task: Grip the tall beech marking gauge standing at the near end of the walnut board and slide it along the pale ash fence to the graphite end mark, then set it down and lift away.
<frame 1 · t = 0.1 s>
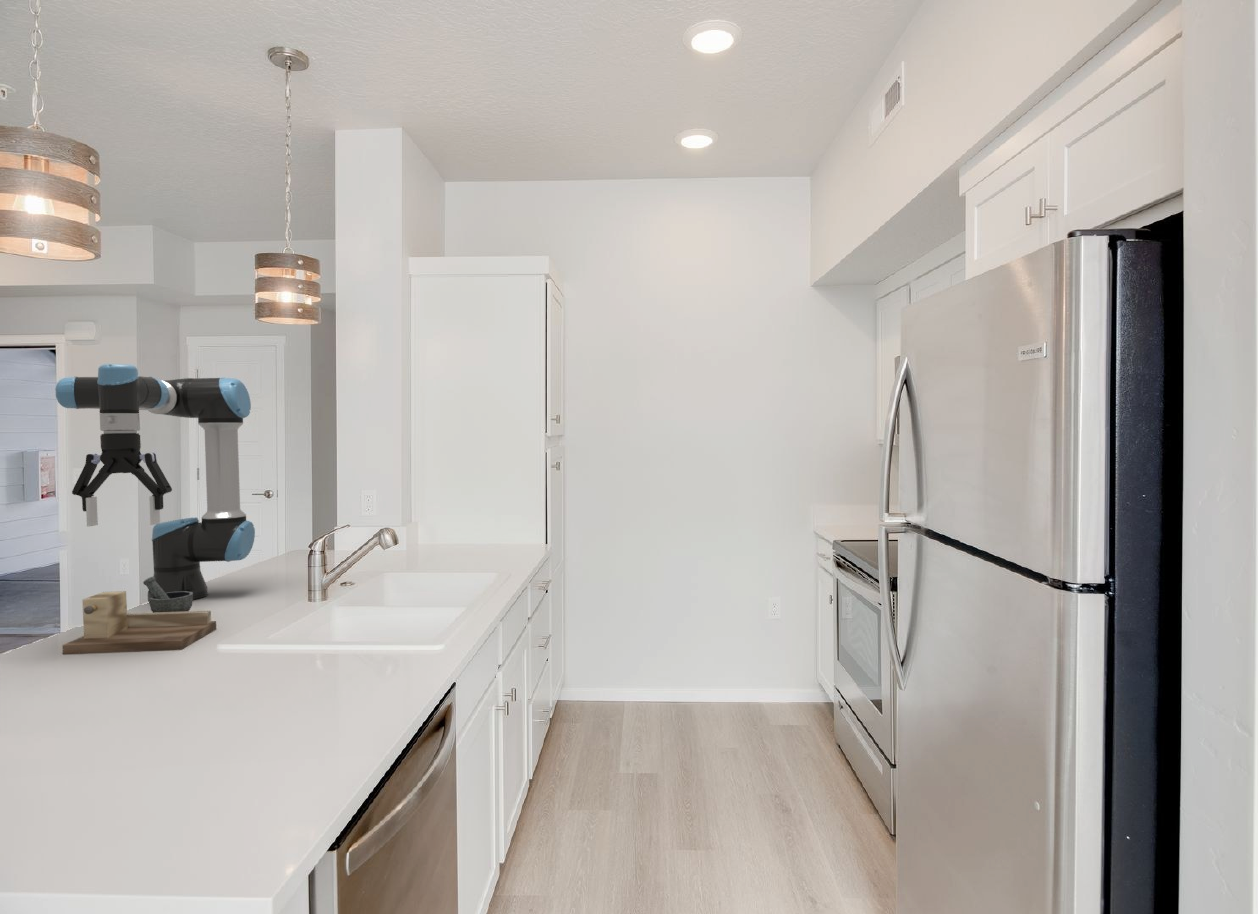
hand: (124, 525, 169), 28 cm above the worktop, tool pointing down, fingers open, 13 cm apart
walnut board: (143, 640, 173), on the worktop
mortar and pestle: (169, 622, 190), on the worktop
marking gauge: (106, 633, 172), point 2 cm above the worktop, touching walnut board
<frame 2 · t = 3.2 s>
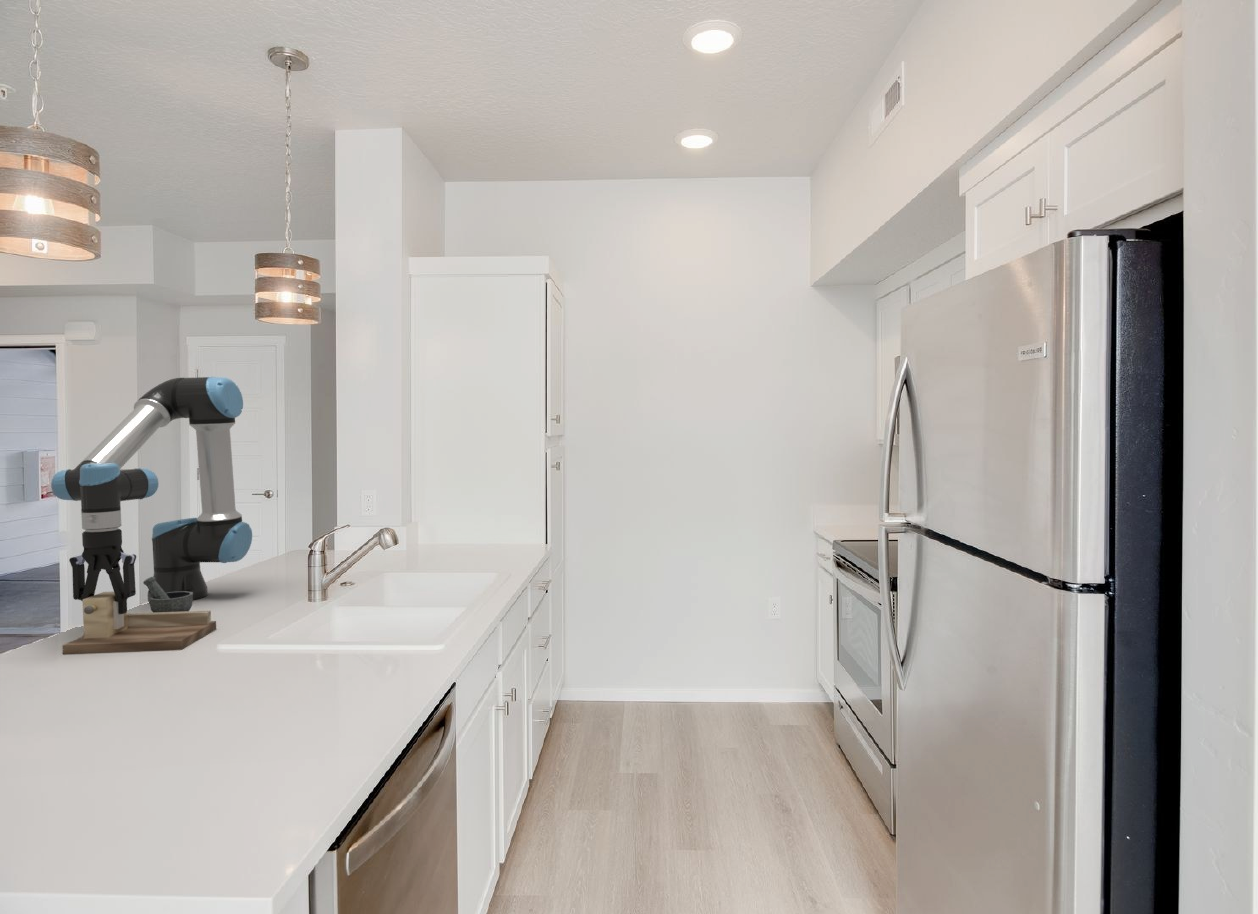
hand: (106, 628, 172), 3 cm above the worktop, tool pointing down, fingers closed on marking gauge, 5 cm apart
marking gauge: (106, 633, 172), point 2 cm above the worktop, touching gripper, walnut board
everything else where it was.
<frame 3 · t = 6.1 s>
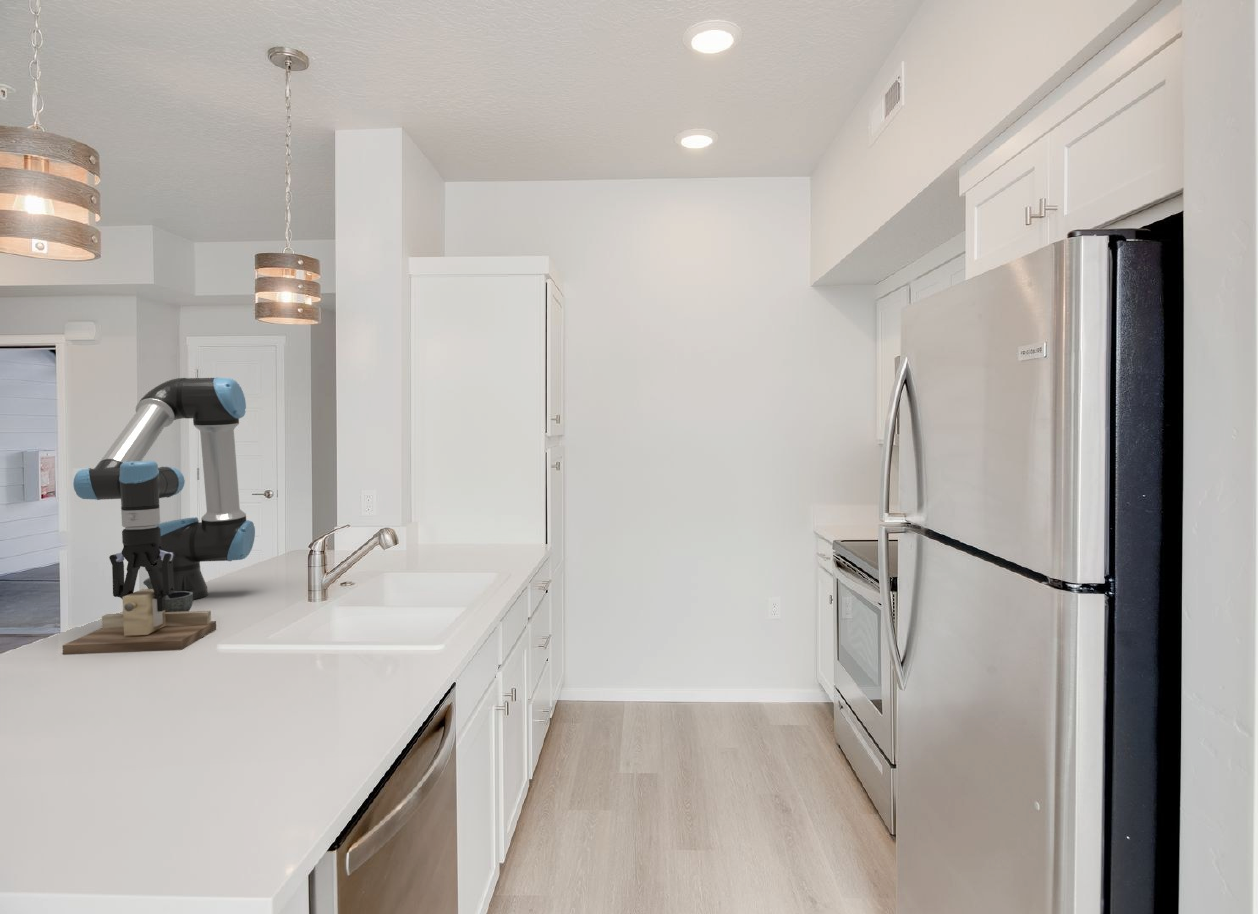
hand: (145, 625, 173), 4 cm above the worktop, tool pointing down, fingers closed on marking gauge, 5 cm apart
marking gauge: (145, 630, 173), point 2 cm above the worktop, touching gripper
everything else where it was.
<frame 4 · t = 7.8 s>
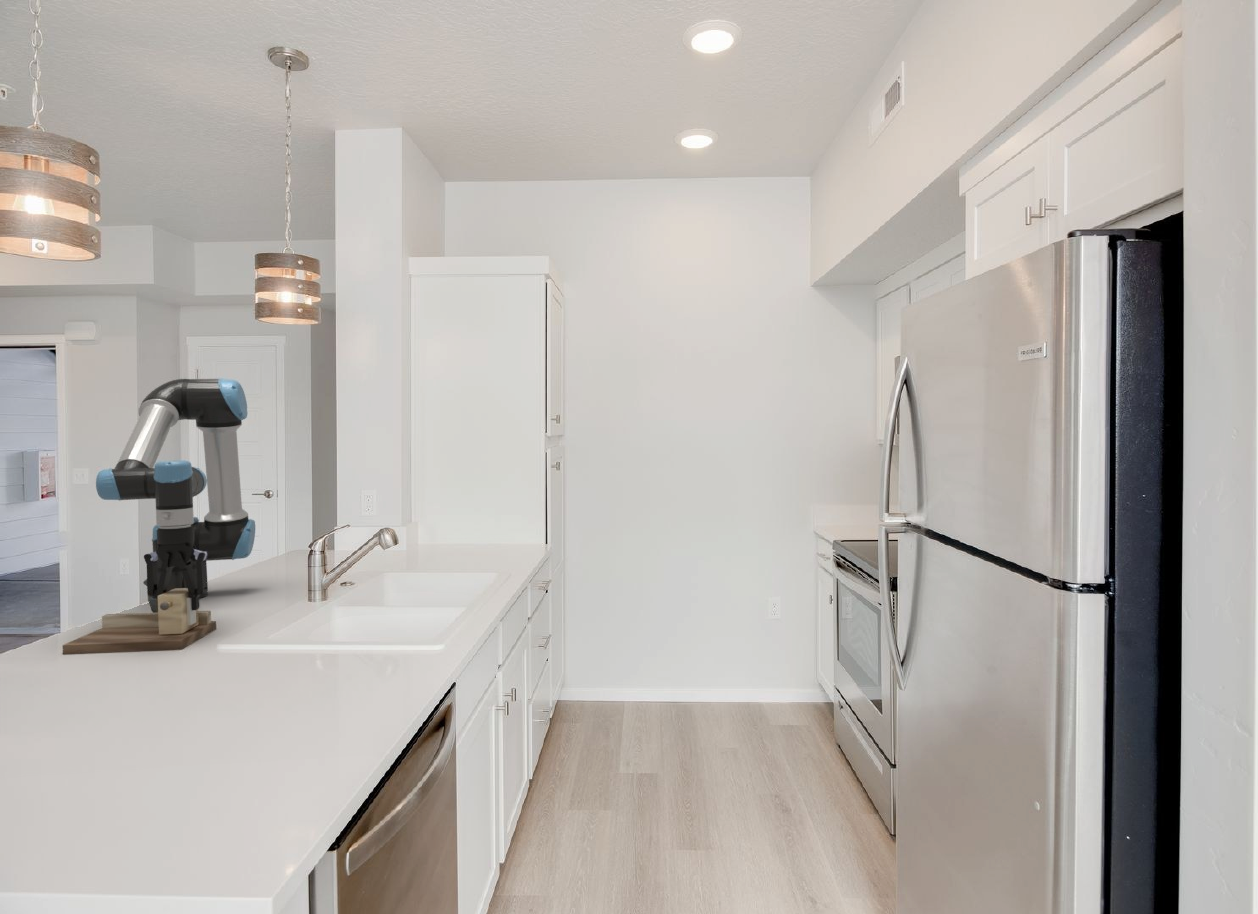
hand: (179, 624, 174), 4 cm above the worktop, tool pointing down, fingers closed on marking gauge, 5 cm apart
marking gauge: (179, 629, 174), point 2 cm above the worktop, touching gripper
everything else where it was.
when the fingers open (3 cm above the worktop, at t = 8.9 s): marking gauge stays where it is, resting on walnut board.
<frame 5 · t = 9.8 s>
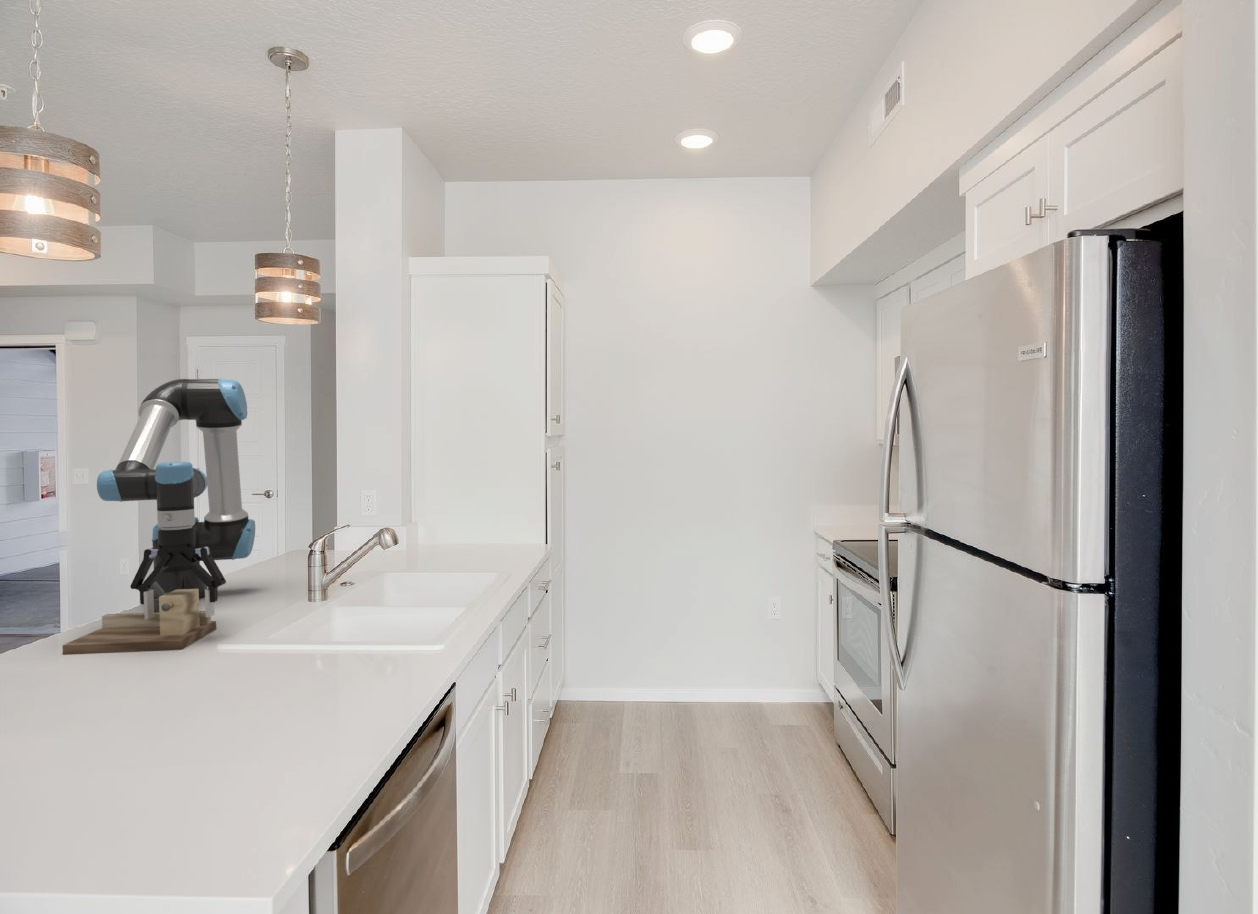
hand: (180, 617, 174), 5 cm above the worktop, tool pointing down, fingers open, 13 cm apart
marking gauge: (180, 630, 174), point 2 cm above the worktop, touching walnut board
everything else where it was.
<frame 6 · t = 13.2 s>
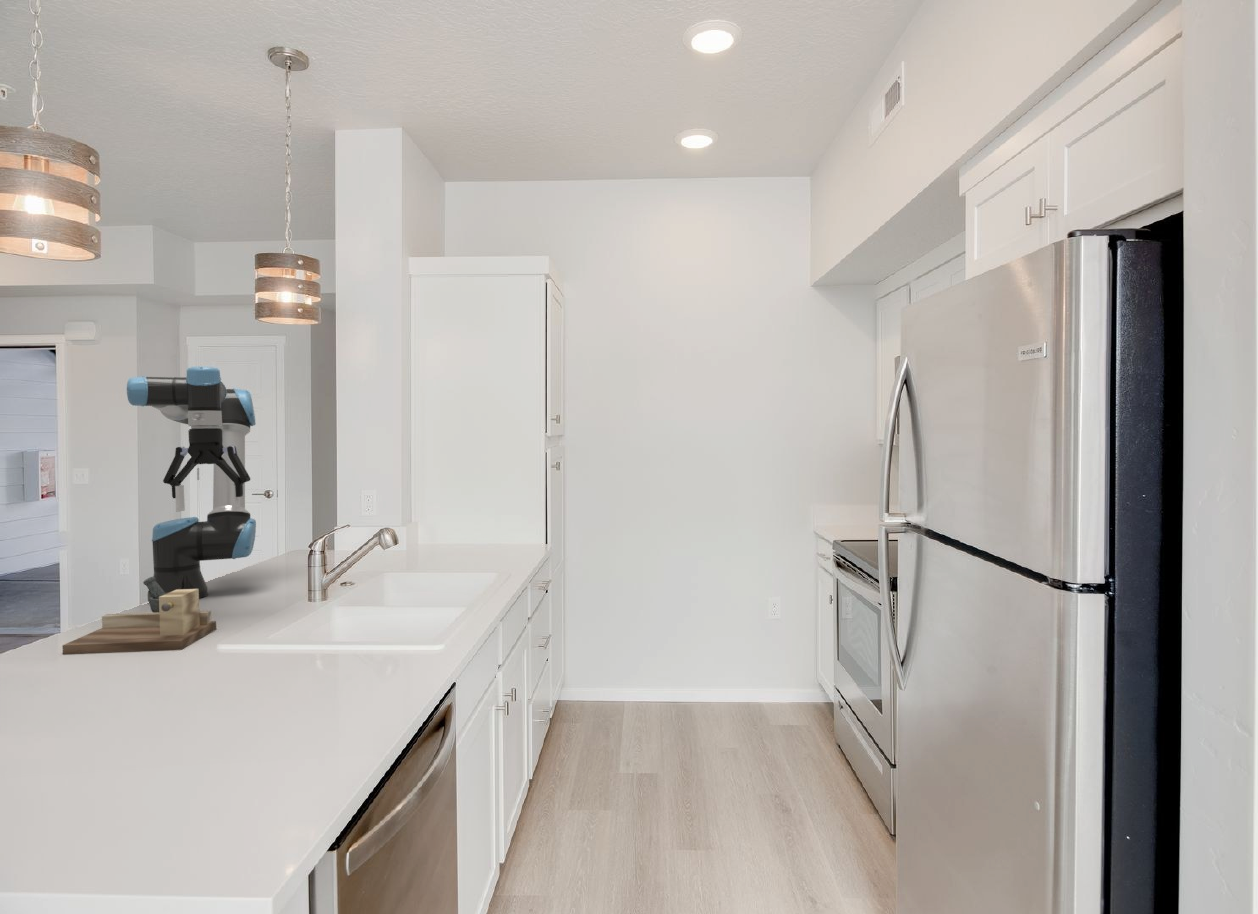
hand: (208, 510, 189), 29 cm above the worktop, tool pointing down, fingers open, 13 cm apart
nothing on the worktop moved.
at the end: marking gauge 0.0 cm from the target spot on the walnut board, point 2.0 cm above the walnut board's base; marking gauge tilted 0°; the gripper is holding nothing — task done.
